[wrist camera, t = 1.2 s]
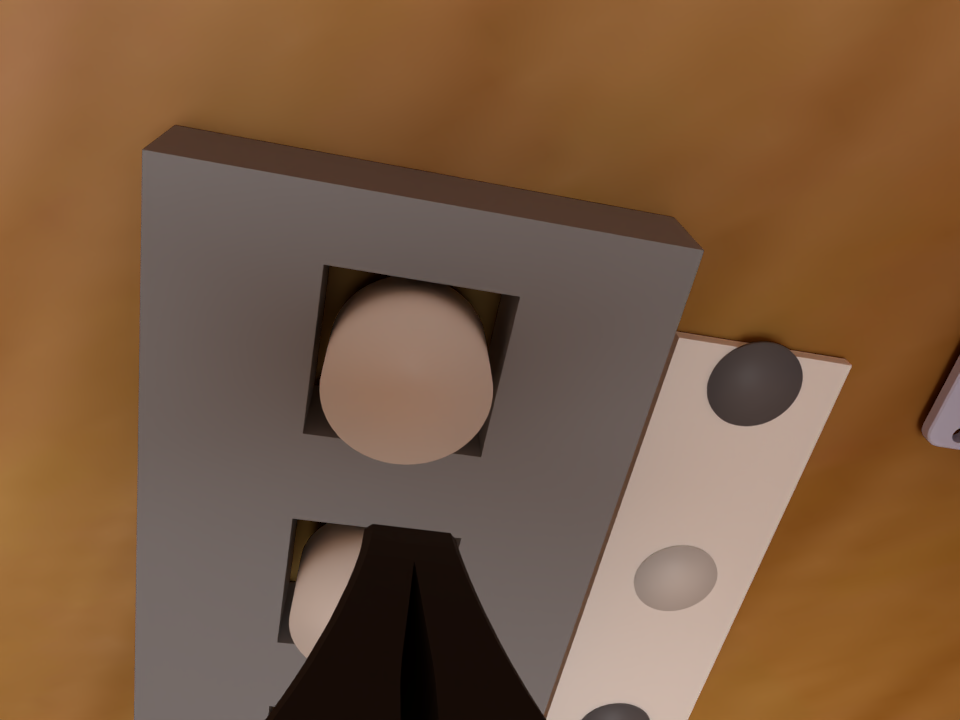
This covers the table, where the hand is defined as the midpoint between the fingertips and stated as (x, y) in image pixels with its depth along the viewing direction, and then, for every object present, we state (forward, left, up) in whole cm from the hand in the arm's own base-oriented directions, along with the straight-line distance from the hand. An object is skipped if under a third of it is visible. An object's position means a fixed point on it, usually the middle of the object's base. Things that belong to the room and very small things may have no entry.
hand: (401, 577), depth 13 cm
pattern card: (-10, +7, -9) cm, 15 cm away
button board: (0, +7, -9) cm, 12 cm away
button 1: (0, 0, -8) cm, 8 cm away
